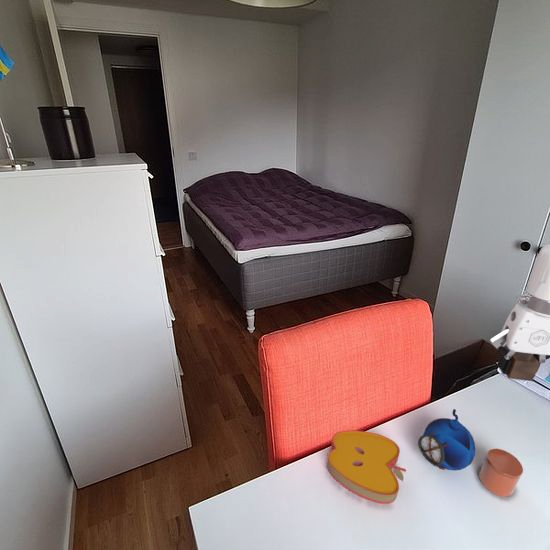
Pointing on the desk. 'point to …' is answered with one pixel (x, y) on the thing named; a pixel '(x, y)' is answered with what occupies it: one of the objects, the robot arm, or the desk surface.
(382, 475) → the decorative object
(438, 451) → the bomb
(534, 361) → the walnut block
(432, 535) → the desk surface
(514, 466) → the terracotta pot
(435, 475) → the desk surface
